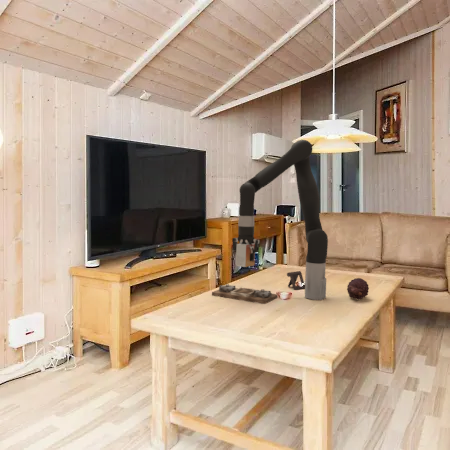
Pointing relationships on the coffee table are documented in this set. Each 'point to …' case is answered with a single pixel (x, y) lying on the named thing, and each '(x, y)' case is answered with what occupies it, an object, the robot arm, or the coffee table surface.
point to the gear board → (245, 294)
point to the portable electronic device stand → (293, 279)
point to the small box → (244, 255)
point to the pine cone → (358, 288)
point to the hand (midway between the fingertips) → (245, 260)
